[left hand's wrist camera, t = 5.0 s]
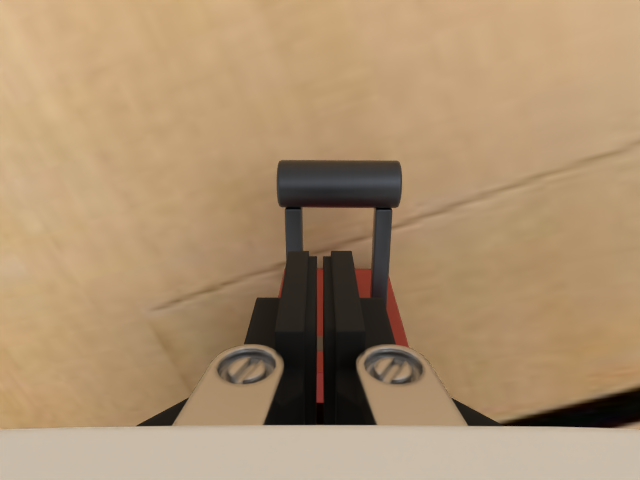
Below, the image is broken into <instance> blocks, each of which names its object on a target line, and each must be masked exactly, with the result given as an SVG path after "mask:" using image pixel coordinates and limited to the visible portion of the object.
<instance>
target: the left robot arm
mask: <svg viewBox="0 0 640 480" xmlns="http://www.w3.org/2000/svg"><path fill="white" fill-rule="evenodd" d="M316 402H317V256H309V251H288V257H287V262H286V268H285V274H284V280H283V286H282V291H281V297H280V298H257V300H256V303H255V306H254V310H253V314H252V317H251V321H250V325H249V328H248V332H247V335H246V339H245V343H244V345H240V346H235V347H232V348H230V349H227V350H225V351H223V352H222V353H220V354H219V355H217V356H216V357H215V358H214V359H213V361H212V362H211V363H210V365H209V366H208V368H207V370H206V371H205V373H204V375H203V376H202V378H201V379H200V381H199V383H198V384H197V386H196V388H195V389H194V391H193V392H192V394H191V396H190V397H189V398H187V399H185V400H184V401H182V402H180V403H178V404H176V405H174V406H172V407H171V408H169V409H167V410H165V411H163V412H161V413H159V414H157V415H156V416H154V417H152V418H150V419H148V420H146V421H144V422H143V423H141V424H139V425H137V426H128V427H56V428H26V429H0V480H640V429H616V428H581V427H517V426H503V425H501V424H499V423H497V422H496V421H494V420H492V419H490V418H488V417H486V416H484V415H483V414H481V413H479V412H477V411H475V410H473V409H471V408H469V407H468V406H466V405H464V404H462V403H460V402H458V401H456V400H455V399H453V398H451V397H450V396H449V394H448V392H447V391H446V389H445V388H444V386H443V384H442V383H441V381H440V379H439V378H438V376H437V375H436V373H435V371H434V370H433V368H432V366H431V365H430V363H429V362H428V361H427V359H426V358H425V357H424V356H423V355H421V354H420V353H418V352H417V351H415V350H413V349H410V348H408V347H405V346H400V345H396V343H395V339H394V335H393V332H392V328H391V325H390V321H389V317H388V314H387V310H386V306H385V303H384V300H383V298H360V297H359V291H358V286H357V280H356V274H355V268H354V262H353V257H352V251H331V256H323V402H324V425H316Z"/></svg>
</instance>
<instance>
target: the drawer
mask: <svg viewBox="0 0 640 480" xmlns="http://www.w3.org/2000/svg"><path fill="white" fill-rule="evenodd" d="M401 192H402V171H401V165H400V163H399V162H398V161H326V160H281V161H279V163H278V168H277V198H278V203H279V206H280V207H286V208H285V232H286V262H287V257H288V251H303V207H330V208H374V220H373V243H372V265H371V269H355V274H356V280H357V286H358V291H359V297H360V298H383V300H384V303H385V306H386V310H387V314H388V317H389V321H390V325H391V328H392V332H393V335H394V339H395V343H396V345H400V346H405V347H408V348H409V346H408V342H407V339H406V335H405V332H404V328H403V325H402V321H401V318H400V314H399V310H398V307H397V303H396V300H395V296H394V293H393V289H392V286H391V282H390V279H389V258H390V241H391V224H392V209H391V208H396V207H398V206H399V203H400V199H401ZM284 274H285V270H284ZM284 274H283V278H282V283H281V287H280V292H279V296H278V298H280V297H281V291H282V286H283V280H284ZM316 425H324V402H323V269H317V402H316Z"/></svg>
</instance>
